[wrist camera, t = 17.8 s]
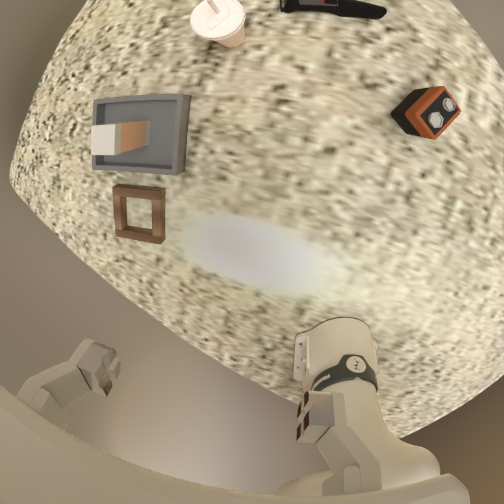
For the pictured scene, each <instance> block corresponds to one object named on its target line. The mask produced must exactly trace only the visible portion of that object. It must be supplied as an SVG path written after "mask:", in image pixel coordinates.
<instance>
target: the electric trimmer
mask: <svg viewBox="0 0 504 504" xmlns="http://www.w3.org/2000/svg"><path fill="white" fill-rule="evenodd" d="M280 8H281V11H285V12H286V13H289V12H292V11H295V10H319V11H329V12H334V13H336V14H338V15H339V16H348V17H365V18H377V19H379V18H382V17H383V16H384V15H385V14H386V13H387V10H386V8H384V7H381V6H377V5H373V4H369V3H365V2H361V1H356V0H280Z"/></svg>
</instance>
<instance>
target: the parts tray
mask: <svg viewBox="0 0 504 504" xmlns="http://www.w3.org/2000/svg"><path fill="white" fill-rule="evenodd" d="M190 102H191V96H189V95H184V94H162V95H139V96H125V97H115V98H105V99H97V100H94V104H93V122H92V126H93V125H100V124H107V123H114V122H122V121H138V120H151V128H150V145H147V146H144V147H140V148H137V149H133V150H130V151H126V152H123V153H120V154H117V155H92V170H112V171H129V172H144V173H156V174H167V175H178V174H180V173H181V172H183V171H185V158H186V144H187V132H188V121H189V111H190Z"/></svg>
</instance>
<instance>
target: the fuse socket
mask: <svg viewBox="0 0 504 504" xmlns="http://www.w3.org/2000/svg"><path fill="white" fill-rule="evenodd" d="M126 197H134V198H143V199H151V200H152V230H151V229H145V228H139V227H132V226H127V213H126ZM113 206H114V220H115V231H116V236H117V237H122V238H128V239H133V240H139V241H144V242H150V243H155V244H162V242H163V241H164V240H165V188H157V187H147V186H137V185H126V184H117V185H115V186H113Z"/></svg>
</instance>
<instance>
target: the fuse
mask: <svg viewBox="0 0 504 504" xmlns="http://www.w3.org/2000/svg"><path fill="white" fill-rule="evenodd" d="M150 128H151V120H138V121H122V122H114V123H107V124H100V125H93V126H92V130H91V155H117V154H120V153H123V152H126V151H130V150H133V149H137V148H140V147H144V146H147V145H150Z"/></svg>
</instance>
